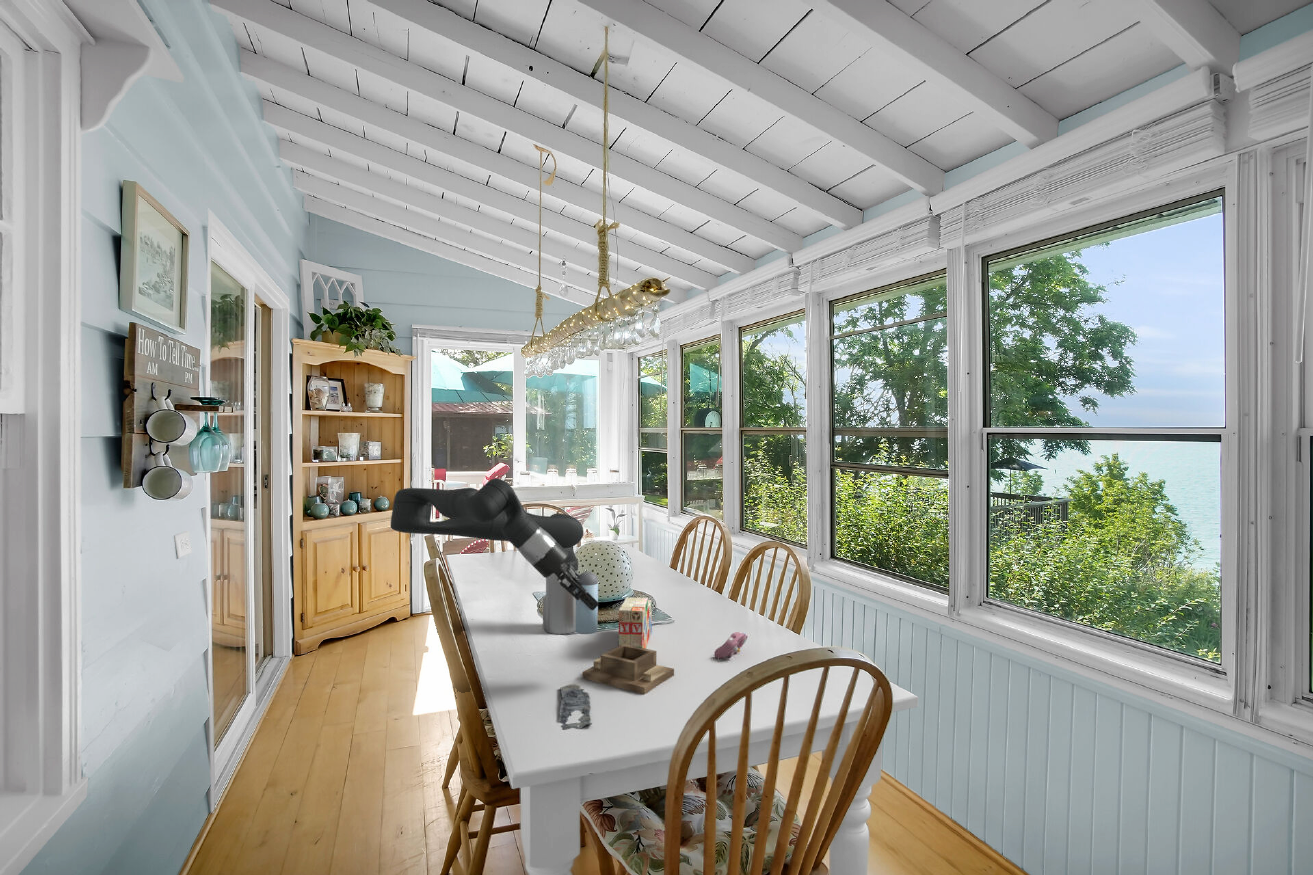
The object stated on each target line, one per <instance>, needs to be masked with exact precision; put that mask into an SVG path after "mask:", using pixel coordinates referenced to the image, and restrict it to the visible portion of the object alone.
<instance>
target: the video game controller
mask: <svg viewBox="0 0 1313 875" xmlns="http://www.w3.org/2000/svg"><path fill="white" fill-rule="evenodd" d="M747 639H748V635H747V634H746V633H744V632H742V631H738V632H733V633H731V634H730V637H728V638H727V640H726V641H725V642H724V643H723V644H722V645H720V646H719V647H717V648H716V649H715V650H714V655H713V656H714V657H715V658H716V659H723V658H725V657H727V656H728V657H729V658H731V657H733V656H734V655H735V654H738V652H740V651H741V648H742V647H743V646H744V644H745V643H747V642H746V641H747Z"/></svg>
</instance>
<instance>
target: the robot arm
mask: <svg viewBox="0 0 1313 875" xmlns="http://www.w3.org/2000/svg"><path fill="white" fill-rule="evenodd" d="M433 507H434V508H435V510H436V511H437V512H438V513H439V514H441V515H442V516H443V517H445V518H447V519H444V520H440V521H431V517H432V509H433ZM390 517H391V518H390V528H391V529H392V530H393V531H396V532H398V533H406V534H415V535H416V534H419V535H441V536H443V535H444V536H455V537H456V536H457V537H465V538H470V539H471V538H473V539H478V540H479V539H480V540H487V541H497V542H501V541H502V542H509V543H510V544H511V545H512V546H513V547H515V549H517V551H518V552H519V553H520V554H521V555H522V557H523V558H524V559H525V560H526V561H527V562H528V563H529V564H530V565H531V566H532V567H533V568H534V569H535V570H536V571H537V572H538V573H539V574H540V575H541V576H542V577H543V578H544V579H545V595H543V597H542V630H545V631H546V632H547V633H550V634H555V635H564V634H571V633H575V632H576V631H575V626H576V600H581V601H583V602H584V603H585V604H586V605H587V606H588V607H589V608H590V609H591V610H594V609H595V608H596V607H597V606H598V607H599V601H598V602H597V601H596V600H595V599H594V598H593V597H592V596H591V595H590V594H589V593H588V592H587V590H586V589H585V588H584V587H583V586H582V581H581V580H580V579H579V578H578V576H579V575H580V573H579V560H578V558H577V556H576V554H575V551H574V547H575V546H576V545H578V544H579V543H580V542H581V541H582V539H583V537H584V533H585V532H584V527H583V525H582V523H581V521H580V520H578V519H577V518H576V517H574V516H572V515H570V514H565V513H561V512H559V513H557V512H556V513H553V514H552V515H550V516H548V515H546V516H545V515H538V514H533V513H530V512H527V511H526V509H525V507H524V506H523V504H522V502H521V501H520V499H519V497H518V495H517V493H516V491H515V490H514V489H513V487H512V486H511V485H510V484H509V483H508V482H507V481H505V480H503V479H502V478H501V479H500V478H492V479H490V480H488V481H487V482H486V483H485V484H484V485H483V486H482V487H481V488H480V489H479V490H478V489H477V488H474V487H463V488H454V489H439V488H425V487H424V488H419V487H408V488H402V489H399V490H398V491H397V492H396V493H395V495H394V499H393V506H392V510H391V516H390ZM576 582H577V583H576ZM577 588H578V589H579V590H580V591H579V592H578V593H577V592H576V589H577Z"/></svg>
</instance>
